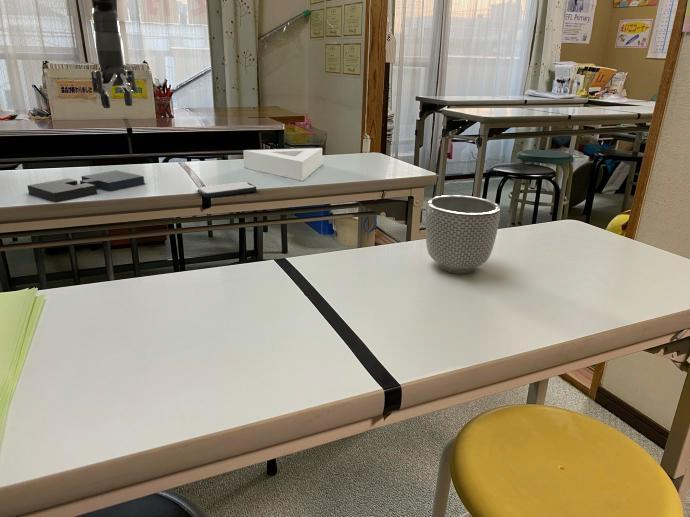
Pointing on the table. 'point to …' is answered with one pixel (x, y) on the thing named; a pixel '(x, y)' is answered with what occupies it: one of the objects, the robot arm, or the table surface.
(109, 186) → the slate pad
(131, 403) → the table surface
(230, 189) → the phone case
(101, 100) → the robot arm
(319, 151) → the triangle block
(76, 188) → the black pad
